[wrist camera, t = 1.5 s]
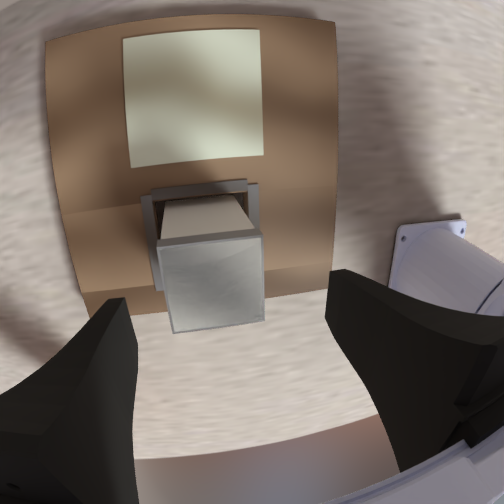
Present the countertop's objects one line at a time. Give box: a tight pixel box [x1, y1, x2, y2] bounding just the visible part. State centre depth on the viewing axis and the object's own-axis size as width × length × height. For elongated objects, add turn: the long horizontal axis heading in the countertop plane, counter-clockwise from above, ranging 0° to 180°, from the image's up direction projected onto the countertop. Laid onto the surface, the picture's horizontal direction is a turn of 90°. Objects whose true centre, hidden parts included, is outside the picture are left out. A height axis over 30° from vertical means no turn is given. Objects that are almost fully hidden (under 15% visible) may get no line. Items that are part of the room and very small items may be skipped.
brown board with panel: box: [45, 14, 338, 318], centre depth 17 cm, size 17×16×2 cm
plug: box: [156, 195, 265, 334], centre depth 17 cm, size 4×4×7 cm
